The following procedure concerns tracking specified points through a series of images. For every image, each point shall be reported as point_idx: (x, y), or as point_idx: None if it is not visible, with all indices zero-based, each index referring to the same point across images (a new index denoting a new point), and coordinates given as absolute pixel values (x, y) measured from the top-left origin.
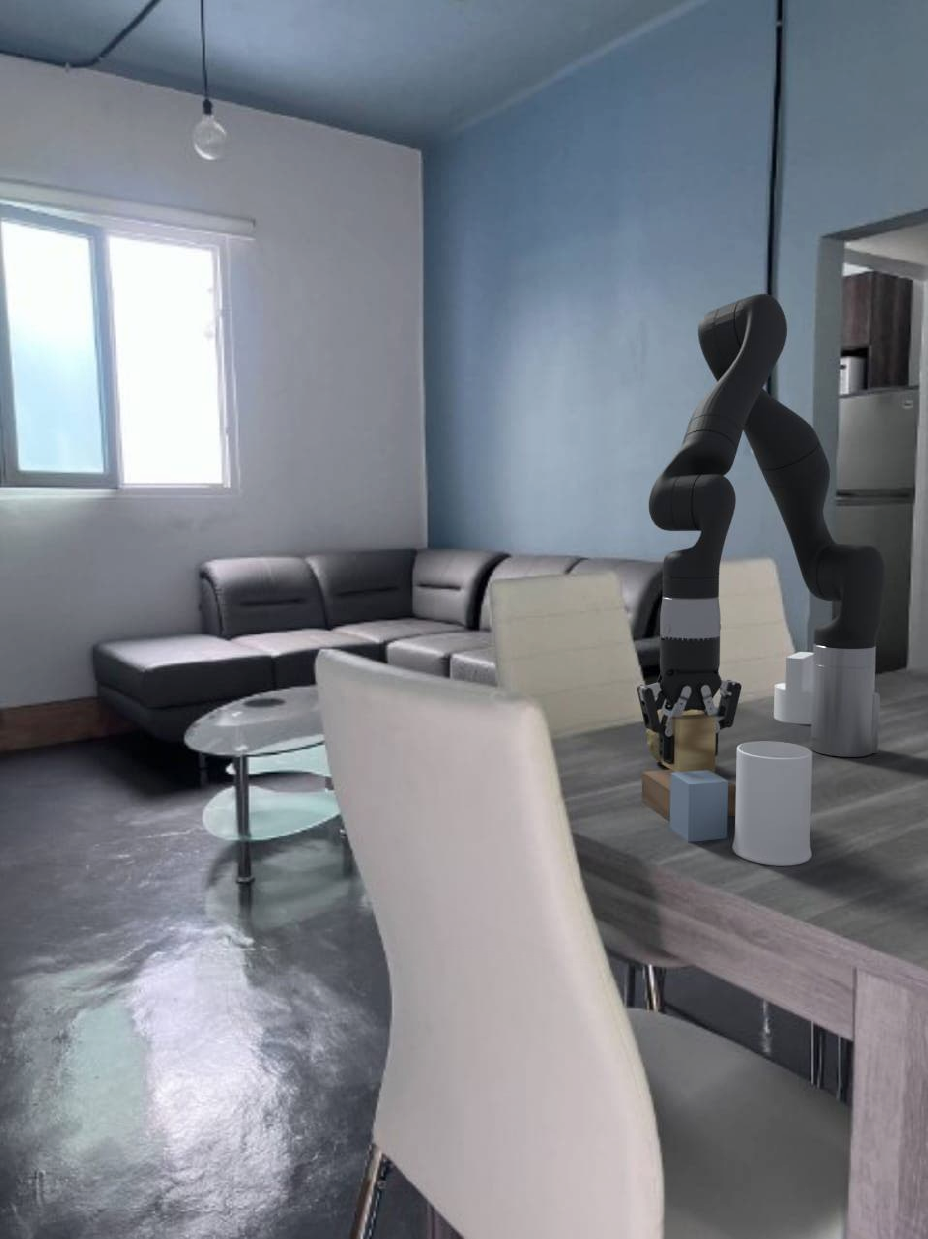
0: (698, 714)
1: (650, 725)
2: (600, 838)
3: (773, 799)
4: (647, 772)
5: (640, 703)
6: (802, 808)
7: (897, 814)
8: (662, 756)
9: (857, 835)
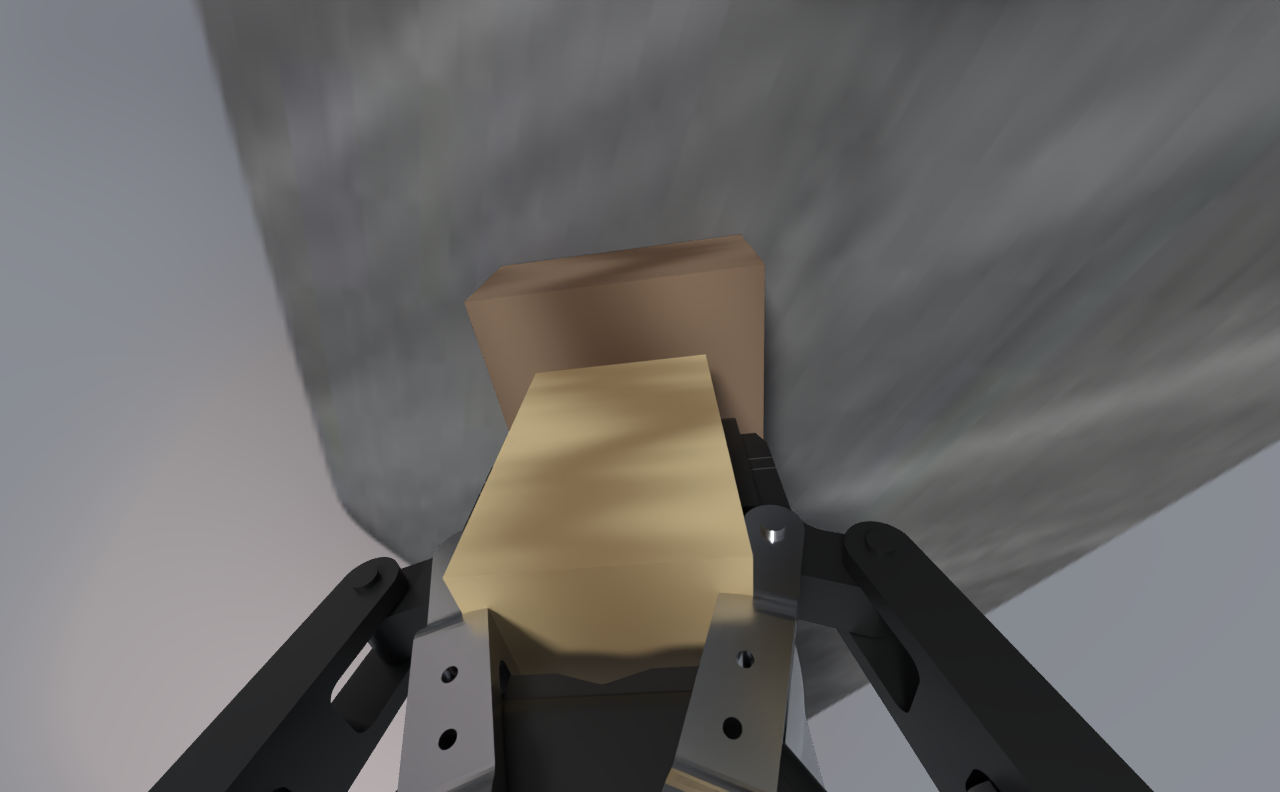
0: (691, 649)
1: (372, 656)
2: (379, 518)
3: None
4: (488, 314)
5: (198, 755)
6: None
7: (1171, 468)
8: None
9: (935, 559)
